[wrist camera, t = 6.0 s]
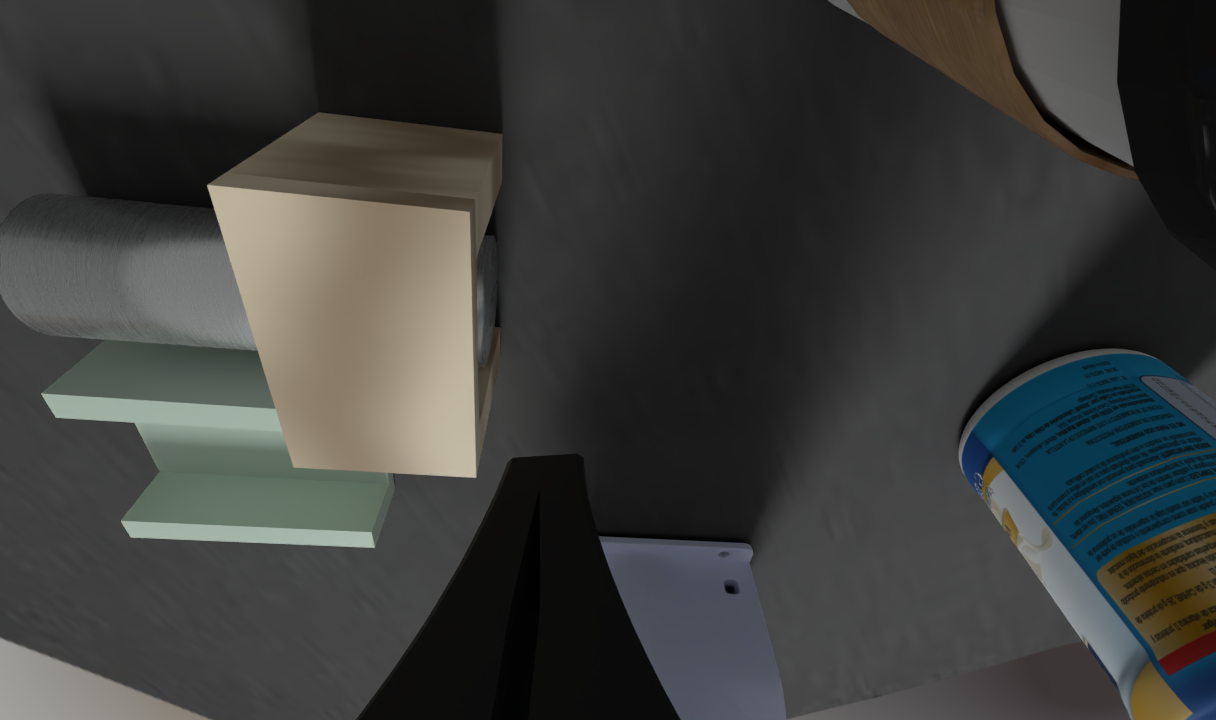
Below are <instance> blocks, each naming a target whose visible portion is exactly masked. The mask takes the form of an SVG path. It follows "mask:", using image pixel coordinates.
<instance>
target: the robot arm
mask: <svg viewBox="0 0 1216 720" xmlns="http://www.w3.org/2000/svg"><path fill="white" fill-rule="evenodd" d="M752 556H753V550H752V547H751V545H749V544H746V543H732V542H710V541H689V540H667V539H646V538H625V537H603V536H598V533H597V530H596V527H595V523H594V520H593V516H592V512H591V508H590V504H589V500H588V493H587V485H586V476H585V467H584V459H583V457H581V456H580V455H578V454H566V455H550V456H534V457H518V458H512V459H511V460H510V461H509V462H508V463H507V466H506V468H505V471H504V474H503V476H502V479H501V481H500V483H499V486H498V488H497V491H496V493H495V495H494V497H493V499H492V502H491V504H490V506H489V508H488V510H487V512H486V514H485V516H484V519H483V521H482V523H481V525H480V527H479V529H478V530H477V532H476V534H475V536H474V538H473V540H472V542H471V544H470V546H469V548H468V550H467V552H466V553H465V555H464V557H463V559H462V561H461V563H460V565H459V566H458V568H457V570H456V572H455V573H454V575H453V577H452V578H451V580H450V582H449V583H448V585H447V587H446V589H445V590H444V592H443V594H442V595H441V597H440V599H439V600H438V602H437V604H436V605H435V607H434V609H433V610H432V612H431V614H430V615H429V617H428V618H427V620H426V621H425V623H424V625H423V626H422V628H421V629H420V631H419V632H418V634H417V635H416V637H415V638H414V640H413V641H412V643H411V644H410V646H409V647H408V649H407V650H406V652H405V653H404V655H403V656H402V657H401V659H400V660H399V662H398V663H397V665H396V666H395V668H394V669H393V670H392V672H391V673H390V675H389V676H388V677H387V679H386V680H385V681H384V683H383V684H382V685H381V687H380V688H379V689H378V691H377V692H376V694H375V695H374V696H373V698H372V699H371V700H370V702H369V703H368V704H367V706H366V707H365V708H364V710H363V711H362V712H361V714H360V715H359V716H358V718H357V719H356V720H786V713H785V704H784V696H783V690H782V685H781V680H780V676H779V672H778V668H777V664H776V660H775V657H774V653H773V649H772V645H771V642H770V638H769V634H768V630H767V627H766V623H765V619H764V615H763V612H762V608H761V604H760V600H759V596H758V593H757V589H756V585H755V581H754V578H753V574H752V570H751V566H750V563H749V562H750V560H751V558H752Z"/></svg>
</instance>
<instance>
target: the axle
mask: <svg viewBox="0 0 1216 720" xmlns="http://www.w3.org/2000/svg"><path fill="white" fill-rule="evenodd" d="M476 273H477V329H478V367H483V368H485V367H486V366H487V364H488V361H489V357H490V353H491V348H492V342H493V335H494V327H495V317H496V305H497V244H496V239H495V237H494V236H489V235H484V237H483V240H482V243H481V246H480V249H479V252H478V255H477V258H476ZM0 294H1V296H2V298H3V300H4V301H5V303H6V305H7V306H8V308H9V309H10V310H11V312H12V313H13V314H14V315H15V316H16V317H17V318H18V319H19V320H20V321H21V322H23V323H24V324H25V325H27V326H28V327H30V328H32V329H33V330H35V331H38V332H40V333H43V334H47V335H52V336H65V337H78V338H92V339H105V340H119V341H132V342H146V343H159V344H173V345H186V346H200V347H213V348H227V349H240V350H254V351H258V350H257V347H256V343H255V340H254V337H253V334H252V330H251V327H250V324H249V321H248V317H247V314H246V311H245V307H244V304H243V301H242V298H241V294H240V291H239V288H238V285H237V281H236V278H235V275H234V271H233V268H232V265H231V262H230V258H229V255H228V252H227V249H226V245H225V242H224V239H223V236H222V232H221V229H220V226H219V222H218V219H217V216H216V213H215V209H211V208H201V207H190V206H180V205H170V204H160V203H149V202H139V201H129V200H118V199H108V198H98V197H87V196H77V195H67V194H56V193H46V194H39V195H35V196H32V197H30V198H28V199H26V200H24V201H22V202H21V203H19V204H18V205H17V206H16V207H15V208H13V209H12V210H11V211H10V213H9V214H8V215H7V216H6V218H5V219H4V221H3V223H2V224H1V226H0Z"/></svg>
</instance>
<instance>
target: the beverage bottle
mask: <svg viewBox="0 0 1216 720" xmlns="http://www.w3.org/2000/svg"><path fill="white" fill-rule="evenodd" d="M959 462H960V466H961V469H962V471H963V473H964V475H965V477H966V478H967V480H968V481H969V482H970V484H971V485H972V487H973V488H974V489H975V491H976V492H977V493H978V495H979V496H980V497H981V498H982V499H983V500H984V501H985V502H986V504H987V505H988V507H989V508H990V510H991V511H992V512H993V514H994V515H995V517H996V518H997V519H998V521H999V522H1000V524H1001V525H1002V526H1003V528H1004V529H1005V531H1006V532H1007V534H1008V535H1009V536H1010V538H1011V539H1012V541H1013V542H1014V544H1015V545H1016V546H1017V548H1018V549H1019V551H1020V552H1021V554H1022V555H1023V556H1024V558H1025V559H1026V561H1027V562H1028V563H1029V565H1030V566H1031V568H1032V569H1033V571H1034V572H1035V573H1036V575H1037V576H1038V578H1039V579H1040V581H1041V582H1042V583H1043V585H1044V586H1045V588H1046V589H1047V591H1048V592H1049V593H1050V595H1051V596H1052V598H1053V599H1054V601H1055V602H1056V603H1057V605H1058V606H1059V608H1060V609H1061V611H1062V612H1063V613H1064V615H1065V616H1066V618H1067V619H1068V621H1069V622H1070V623H1071V625H1072V626H1073V628H1074V629H1075V631H1076V632H1077V633H1078V635H1079V636H1080V638H1081V639H1082V641H1083V642H1084V644H1085V645H1086V646H1087V648H1088V649H1089V651H1090V652H1091V653H1092V655H1093V656H1094V658H1095V659H1096V661H1097V662H1098V664H1099V665H1100V666H1101V668H1102V669H1103V671H1104V672H1105V674H1106V675H1107V676H1108V678H1109V679H1110V681H1111V682H1112V683H1113V685H1114V686H1115V688H1116V689H1117V691H1118V692H1119V694H1120V696H1121V699H1122V702H1123V705H1124V707H1125V709H1126V711H1127V713H1128V715H1129V717H1130V718H1131V720H1216V402H1215V401H1213V400H1212V399H1211V398H1209V397H1208V396H1207V395H1205V394H1204V393H1203V392H1201V391H1200V390H1199V389H1197V388H1195V387H1194V386H1193V385H1192V384H1191V383H1190V382H1189V381H1187V380H1186V379H1185V378H1184V377H1183V376H1181V375H1180V374H1179V373H1177V372H1176V371H1175V370H1173V369H1172V368H1171V367H1169V366H1168V365H1166V364H1165V363H1164V362H1162V361H1161V360H1159V359H1157V358H1155V357H1153V356H1150V355H1148V354H1145V353H1142V352H1138V351H1133V350H1127V349H1095V350H1088V351H1082V352H1077V353H1073V354H1069V355H1065V356H1062V357H1059V358H1056V359H1053V360H1050V361H1048V362H1045V363H1043V364H1041V365H1038V366H1036V367H1034V368H1032V369H1030V370H1028V371H1026V372H1024V373H1022V374H1021V375H1019V376H1017V377H1016V378H1014V379H1012V380H1011V381H1009V382H1008V383H1006V384H1005V385H1004V386H1002V387H1001V388H1000V389H998V390H997V391H996V392H995V393H993V394H992V395H991V396H990V397H989V398H988V399H987V400H986V401H985V402H984V403H983V404H982V405H981V406H980V407H979V408H978V409H977V411H976V412H975V413H974V414H973V416H972V417H971V419H970V420H969V422H968V423H967V425H966V427H965V429H964V431H963V433H962V436H961V439H960V444H959Z"/></svg>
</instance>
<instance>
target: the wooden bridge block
mask: <svg viewBox="0 0 1216 720" xmlns="http://www.w3.org/2000/svg"><path fill="white" fill-rule="evenodd" d="M502 138H503V134H499V133H490V132H482V131H473V130H465V129H456V128H448V127H439V126H431V125H422V124H414V123H405V122H397V121H388V120H380V119H371V118H362V117H354V116H345V115H337V114H328V113H320V112H318V113H317V114H315V115H314V116H312V117H311V118H309V119H308V120H306V121H304V122H303V123H301V124H300V125H298V126H297V127H295V128H294V129H292V130H291V131H289V132H288V133H286V134H284V135H283V136H281V137H280V138H278V139H277V140H275V141H274V142H272V143H271V144H269V145H268V146H266V147H264V148H263V149H261V150H260V151H258V152H257V153H255V154H254V155H252V156H251V157H249V158H248V159H246V160H244V161H243V162H241V163H240V164H238V165H237V166H235V167H234V168H232V169H231V170H229V171H228V172H226V173H224V174H223V175H221V176H220V177H218V178H217V179H215V180H214V181H212V182H211V183H209V184H208V185H207V187H208V190H209V193H210V196H211V200H212V203H213V206H214V209H215V213H216V216H217V219H218V222H219V226H220V229H221V232H222V236H223V239H224V242H225V245H226V249H227V252H228V255H229V258H230V262H231V265H232V268H233V271H234V275H235V278H236V281H237V285H238V288H239V291H240V294H241V298H242V301H243V304H244V307H245V311H246V314H247V317H248V321H249V324H250V327H251V330H252V334H253V337H254V340H255V343H256V347H257V350H258V353H259V356H260V360H261V363H262V366H263V370H264V373H265V376H266V379H267V383H268V386H269V389H270V392H271V396H272V399H273V402H274V405H275V409H276V412H277V415H278V419H279V422H280V425H281V428H282V432H283V435H284V438H285V441H286V445H287V448H288V451H289V454H290V458H291V461H292V464H293V467H294V468H312V469H330V470H348V471H365V472H383V473H401V474H419V475H437V476H455V477H473V478H476V476H477V471H478V466H479V461H480V456H481V451H482V446H483V441H484V436H485V431H486V426H487V421H488V416H489V411H490V407H491V402H492V397H493V392H494V387H495V382H496V377H497V372H498V367H499V362H500V327H494V335H493V342H492V348H491V353H490V357H489V361H488V364H487V366H486V367H485V368H483V367H478V329H477V273H476V258H477V255H478V252H479V249H480V246H481V243H482V240H483V237H484V234H485V231H486V228H487V225H488V222H489V219H490V217H491V214H492V211H493V208H494V205H495V202H496V199H497V196H498V193H499V190H500V187H501V184H502Z"/></svg>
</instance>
